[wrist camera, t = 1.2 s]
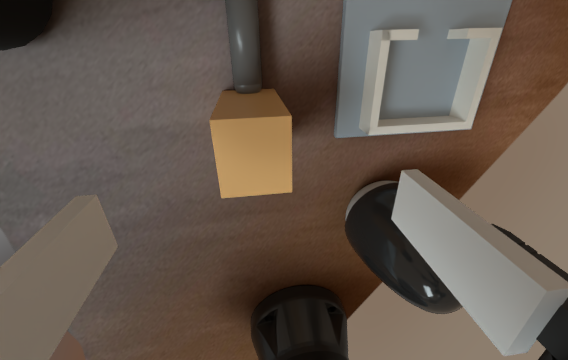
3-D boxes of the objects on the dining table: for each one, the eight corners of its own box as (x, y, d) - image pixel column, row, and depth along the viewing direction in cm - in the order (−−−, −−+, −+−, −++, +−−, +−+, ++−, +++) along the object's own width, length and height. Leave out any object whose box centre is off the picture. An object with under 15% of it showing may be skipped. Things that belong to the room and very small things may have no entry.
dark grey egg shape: (419, 164, 32) (542, 249, 19) (402, 231, 37) (490, 336, 24) (339, 169, 31) (410, 263, 18) (332, 237, 36) (384, 352, 23)
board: (465, 127, 31) (488, 136, 28) (333, 135, 29) (343, 145, 26) (534, -94, 22) (578, -115, 19) (350, -102, 20) (368, -126, 17)
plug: (275, 141, 29) (292, 192, 19) (229, 144, 28) (221, 198, 18) (269, -42, 21) (290, -111, 12) (206, -42, 21) (173, -115, 11)
